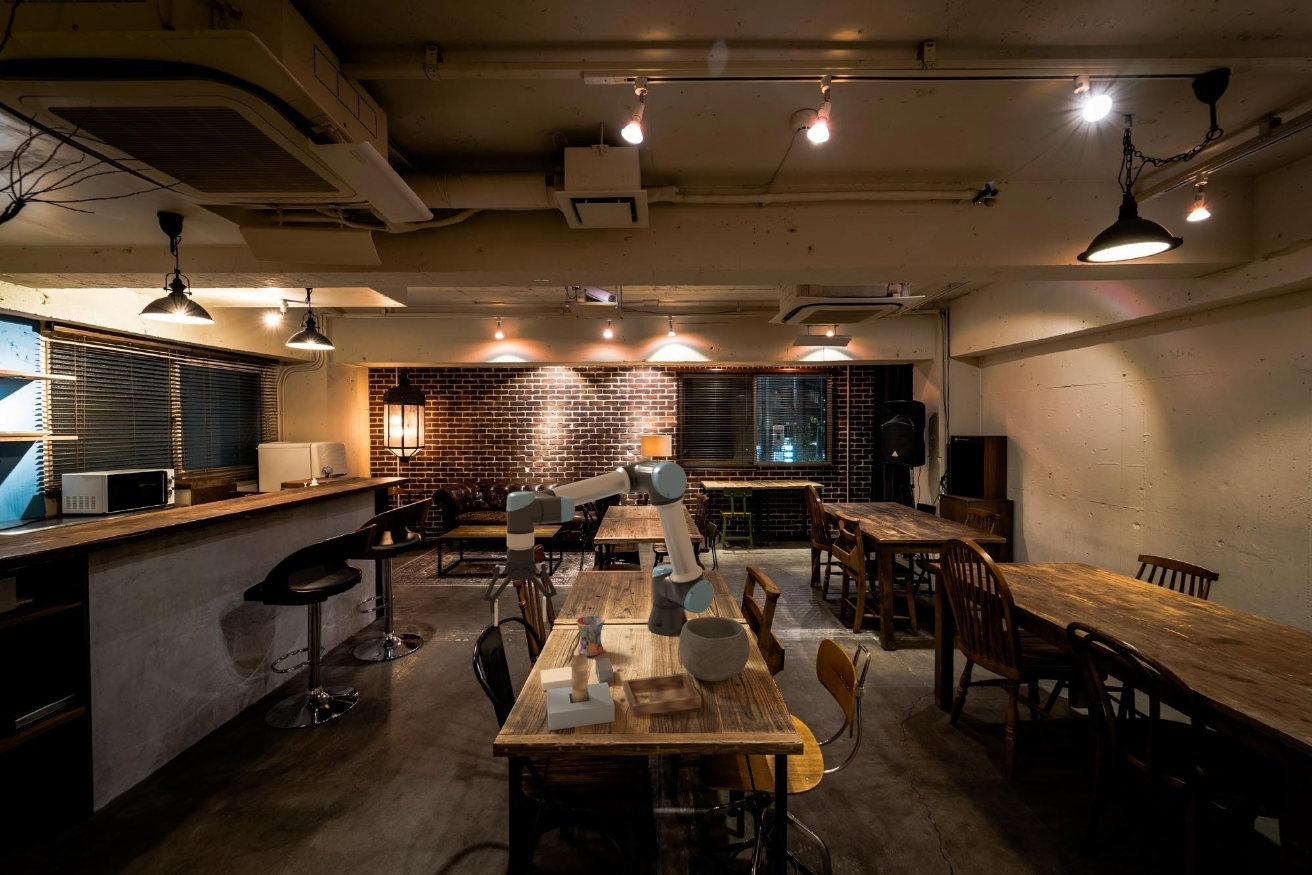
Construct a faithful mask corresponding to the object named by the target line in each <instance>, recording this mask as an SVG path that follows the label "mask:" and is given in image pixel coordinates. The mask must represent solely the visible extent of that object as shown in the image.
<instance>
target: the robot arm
mask: <svg viewBox="0 0 1312 875" xmlns="http://www.w3.org/2000/svg"><path fill="white" fill-rule="evenodd" d="M687 485H688V478H687V475H686V472H685V470H684V469H683V468H682V466H680V464H678V463H677V462H676V463H675V462H671V461H668V460H655V459H654V460H652V459H644V460H639V461H636V462H632V463H630V464H626V465H623V466H619V467H617V468H616V469H615V471H612V472H609V473H605V474H602V475H597V476H593V477H590V478H587V479H586V478H585V479H582V480H579V481H574V482H572V483H567V484H565V485H564V484H563V485H561V486H557V487H551V488H549V489H544V490H541V491H535V490H534V491H513V492H510V493H508V495H507V499H506V508H505V509H506V547H507V549H506V564H505V565H500V564H496V565H495V568H494V574H493V576H492V578H491V581H490V583H489V584H488V587H487V588H486V591H485V593H484V596H483V600H484V601H485V602H486V601H487V602H489V604H490V607H489V608H490V609H489V611H490V614H491V615H493V614H494V627H498V624H499V600H498V598H499V597H500V596H501V594H502V593H503V591H504V590H505V589H506V587H508V585H509V584H511V582H512V580H513V581H514V582H519V581H524V582H525V581H527V580H530V582H532V583H533V584H534V586H535V587H536V588H537V589H538V590H539V591H540V593H541V594H542V595H543V597H542V621H543V623H547V610H550V609H551V598H552V597H554V596H557V594H558V593H557V590H556V587H555V585H554V583H553V582H552V579H551V577H550V575H549V573H548V571H547V568H546V562H545V561H542V562H540V563H536V562H535V547H534V545H535V526H536V525H544V524H555V523H564V522H569V521H572V520H573V519H574V516H575V514H576V506H581V505H584V504H587V503H590V502H594V501H596V500H597V501H598V500H600V499H604V498H607V497H611V496H614V495H617V494H622V495H628V494H633V493H642V494H643V493H644V494H647V495H648V498H649V502H650V505H651V506H652V507H654V508H656V512H657V514H658V519H659V523H660V527H661V530H662V534H663V538H664V542H665V546H666V549H667V553H668V557H669V561H670V564H669V563H668V564H667V563H666V564H662V565H657V566H655V567H653V569H652V575H651V579H652V581H651V582H652V595H651V596H652V598H651V599H652V605H651V606H652V608H651V610H650V612H649V617H648V620H647V630H648V631H650V632H651V633H653V634H656V635H664V636H674V635H675V636H676V635H680V634H681V631H682V628H683V626H684V624H685V623H686V622H687V621H688V620H689V618H688V616H687V613H686V611H687V612H688V613H693V614H701V613H703V612H705V611H706V610H707V609H708V608H709V607H710V606H711V604H712V602H713V601H714V597H715V588H714V586H713V584H712V583H711V581H709V580H707V579H706V578H705V574H704V570H703V568H702V566H699V565H698V563H697V561H696V556H695V553H694V549H693V544H692V541H691V537H690V532H689V527H688V524H687V519H686V516H685V512H684V509H683V508H684V507H683V504H682V502H683V499H684V498H685V491H686V487H687ZM536 569H537V570H538V571H539V572H541V573H542V576H543V578H544V580H545V583H546V585H547V586H548V588H549V590H550V591H549V590H548V589H547V587H545V585H544V584H543V583H542V582H541V581H540V580H539V579H538V577H537V576H536V575H535V574H534V572H535V571H536ZM504 571H505V572H506V573H507V575H506V577H505V579H504V580H503V582H501V584H500V585H499V586H498V588H497V589H496V590H495V591H494V592H493V589H494V587H495V585H496V583H497V582H498V579H499V576H500V575H501V574H503V572H504ZM492 592H493V593H492ZM491 594H492V595H491Z"/></svg>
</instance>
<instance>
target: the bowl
mask: <svg viewBox="0 0 1312 875" xmlns="http://www.w3.org/2000/svg"><path fill="white" fill-rule="evenodd" d="M750 652H751V645H750V640H749V636H748V633H747V631H746V629H745V626H743V624H741V622H740V621H737V620H735V619H732V618H728V617H722V616H703V617H693V618H691V619H688V621H687V622H686V623H685V624H684V626H683V628H682V631H681V634H679V641H678V655H679V660H680V663H681V664H682V665H683V667H684V668H685V670H686V671H687V672H688V673H689V674H690V675H691V676H694V677H695V678H697V679H699V680H702V681H706V682H720V681H725V680H727V679H731V678H733V677H736V676H737V675H738V674H740V673H741V672H742V671H743V670H744V669H745V668H746V665H747V662H748V660H749V658H750V657H749V656H750Z"/></svg>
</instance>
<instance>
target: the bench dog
mask: <svg viewBox="0 0 1312 875" xmlns="http://www.w3.org/2000/svg"><path fill="white" fill-rule="evenodd" d="M595 675H596V677H597V681H598V683H606V682H607V684H608V683H614V668H613V665H612V663H611V660H610V658H609V657H605V658H596V659H595Z"/></svg>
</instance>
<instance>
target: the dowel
mask: <svg viewBox="0 0 1312 875" xmlns="http://www.w3.org/2000/svg"><path fill="white" fill-rule="evenodd" d="M571 666H572V703H578V702H586V701H588V685H589V684H588V656H585V655H581V654H576V655H573V656H572V657H571Z"/></svg>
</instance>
